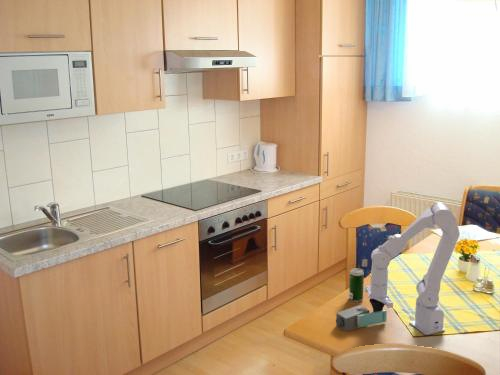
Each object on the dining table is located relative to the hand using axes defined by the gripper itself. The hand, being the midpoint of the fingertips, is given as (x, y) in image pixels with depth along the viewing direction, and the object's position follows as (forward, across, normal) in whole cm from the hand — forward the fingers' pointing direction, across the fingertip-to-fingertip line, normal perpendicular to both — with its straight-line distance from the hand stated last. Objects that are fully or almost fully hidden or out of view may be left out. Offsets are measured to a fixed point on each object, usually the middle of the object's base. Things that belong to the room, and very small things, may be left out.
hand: (377, 317), depth 192 cm
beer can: (+2, -20, +3) cm, 20 cm away
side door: (+1, +1, -3) cm, 4 cm away
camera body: (+2, -3, -9) cm, 10 cm away
